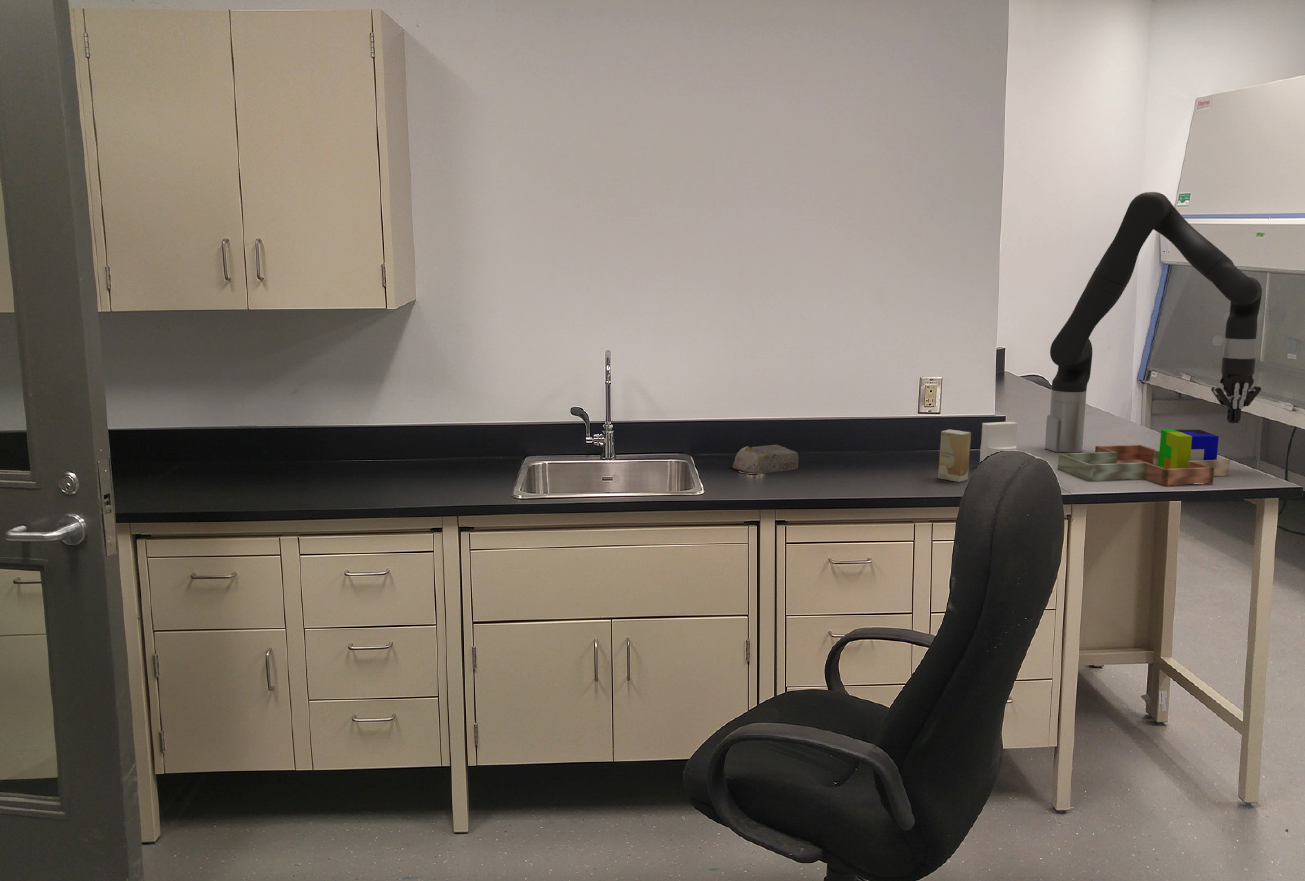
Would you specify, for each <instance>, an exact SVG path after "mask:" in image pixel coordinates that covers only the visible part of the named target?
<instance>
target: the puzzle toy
mask: <svg viewBox="0 0 1305 881" xmlns="http://www.w3.org/2000/svg"><path fill="white" fill-rule="evenodd" d="M1219 439H1220V438H1219V435H1216V434H1213V433H1210V432H1207V431H1205V430H1202V429H1161V430H1160V441H1159V450H1160V451H1159V463H1158V466H1159V467H1162V468H1165V469H1177V468H1187V461H1198V460H1218V451H1219V449H1218V447H1219Z"/></svg>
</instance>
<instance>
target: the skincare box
mask: <svg viewBox="0 0 1305 881" xmlns="http://www.w3.org/2000/svg"><path fill="white" fill-rule="evenodd" d="M971 439H972V432H970V431H965V430H963V431H962V430H957V429H946V430H941V432H940V445H939V458H938V459H939V460H938V461H939V462H938V470H937V471H938V474H937V478H938V479H940V480H946V481H953V482H956V483H960V482H964V481H967V480H968V479H969V465H970V452H971V442H972V441H971Z"/></svg>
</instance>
